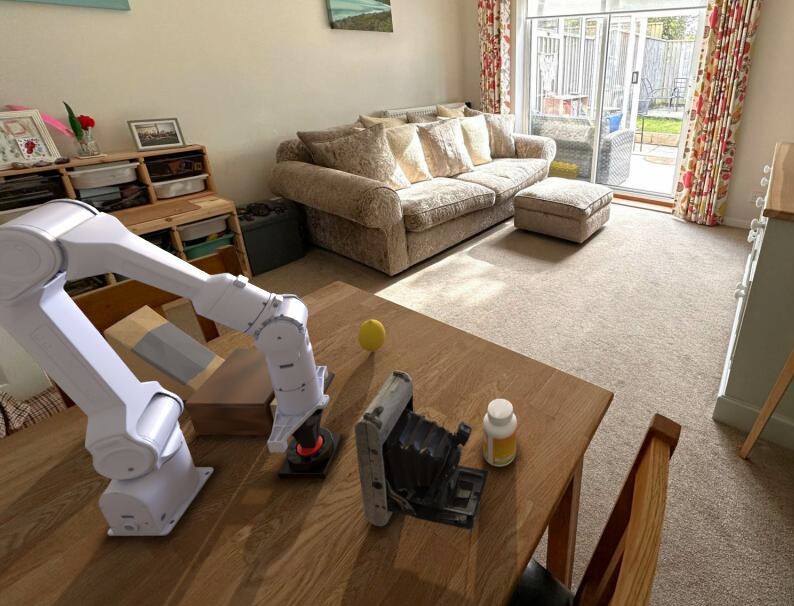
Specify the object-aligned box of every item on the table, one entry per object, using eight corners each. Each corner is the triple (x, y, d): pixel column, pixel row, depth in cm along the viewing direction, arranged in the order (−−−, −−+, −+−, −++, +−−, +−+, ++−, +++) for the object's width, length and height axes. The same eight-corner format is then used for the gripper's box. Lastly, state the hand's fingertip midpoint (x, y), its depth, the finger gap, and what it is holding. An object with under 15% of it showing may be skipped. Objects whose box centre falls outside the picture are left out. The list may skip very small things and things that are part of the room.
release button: (318, 462, 62) (316, 454, 62) (294, 462, 62) (292, 454, 62) (327, 442, 66) (325, 434, 65) (305, 442, 66) (303, 434, 65)
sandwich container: (210, 402, 74) (188, 335, 69) (129, 398, 75) (101, 331, 69) (241, 369, 82) (223, 307, 77) (168, 366, 83) (145, 303, 77)
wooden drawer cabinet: (308, 377, 81) (302, 348, 78) (271, 435, 68) (263, 403, 66) (244, 376, 81) (236, 348, 78) (196, 435, 68) (184, 403, 65)
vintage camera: (469, 555, 53) (475, 444, 46) (362, 525, 55) (350, 415, 48) (488, 486, 62) (495, 384, 55) (394, 463, 64) (389, 362, 57)
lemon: (355, 356, 87) (350, 325, 84) (370, 340, 92) (366, 310, 89) (377, 361, 86) (373, 330, 83) (391, 345, 91) (388, 315, 88)
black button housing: (325, 478, 61) (322, 465, 60) (279, 479, 61) (275, 465, 60) (342, 439, 68) (340, 426, 67) (300, 439, 68) (297, 425, 67)
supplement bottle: (522, 448, 67) (524, 404, 63) (503, 474, 63) (505, 428, 59) (495, 433, 70) (496, 389, 66) (476, 456, 66) (476, 411, 62)
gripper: (299, 417, 52) (315, 489, 57) (341, 344, 65) (351, 407, 70) (243, 417, 52) (265, 489, 57) (297, 344, 65) (310, 407, 70)
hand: (310, 444), depth 63 cm, fingers closed, pressing on release button
